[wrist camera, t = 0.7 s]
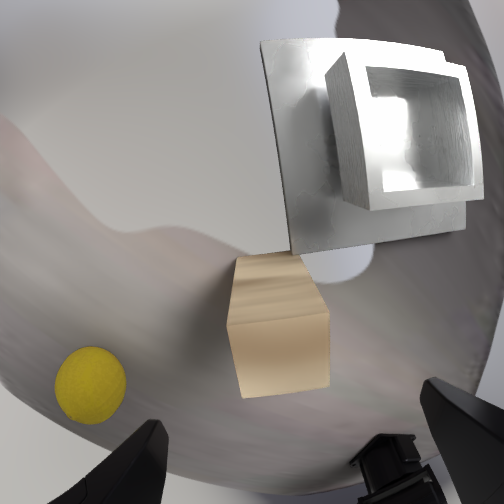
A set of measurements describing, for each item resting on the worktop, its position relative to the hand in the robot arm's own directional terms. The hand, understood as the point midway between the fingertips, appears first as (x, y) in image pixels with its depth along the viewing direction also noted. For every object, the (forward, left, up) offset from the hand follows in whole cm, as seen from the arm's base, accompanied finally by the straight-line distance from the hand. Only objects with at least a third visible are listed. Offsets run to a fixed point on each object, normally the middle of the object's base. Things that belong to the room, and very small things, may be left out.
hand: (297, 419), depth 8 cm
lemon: (-12, +10, -13) cm, 20 cm away
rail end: (0, 0, -12) cm, 13 cm away
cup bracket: (+12, -3, -12) cm, 17 cm away
